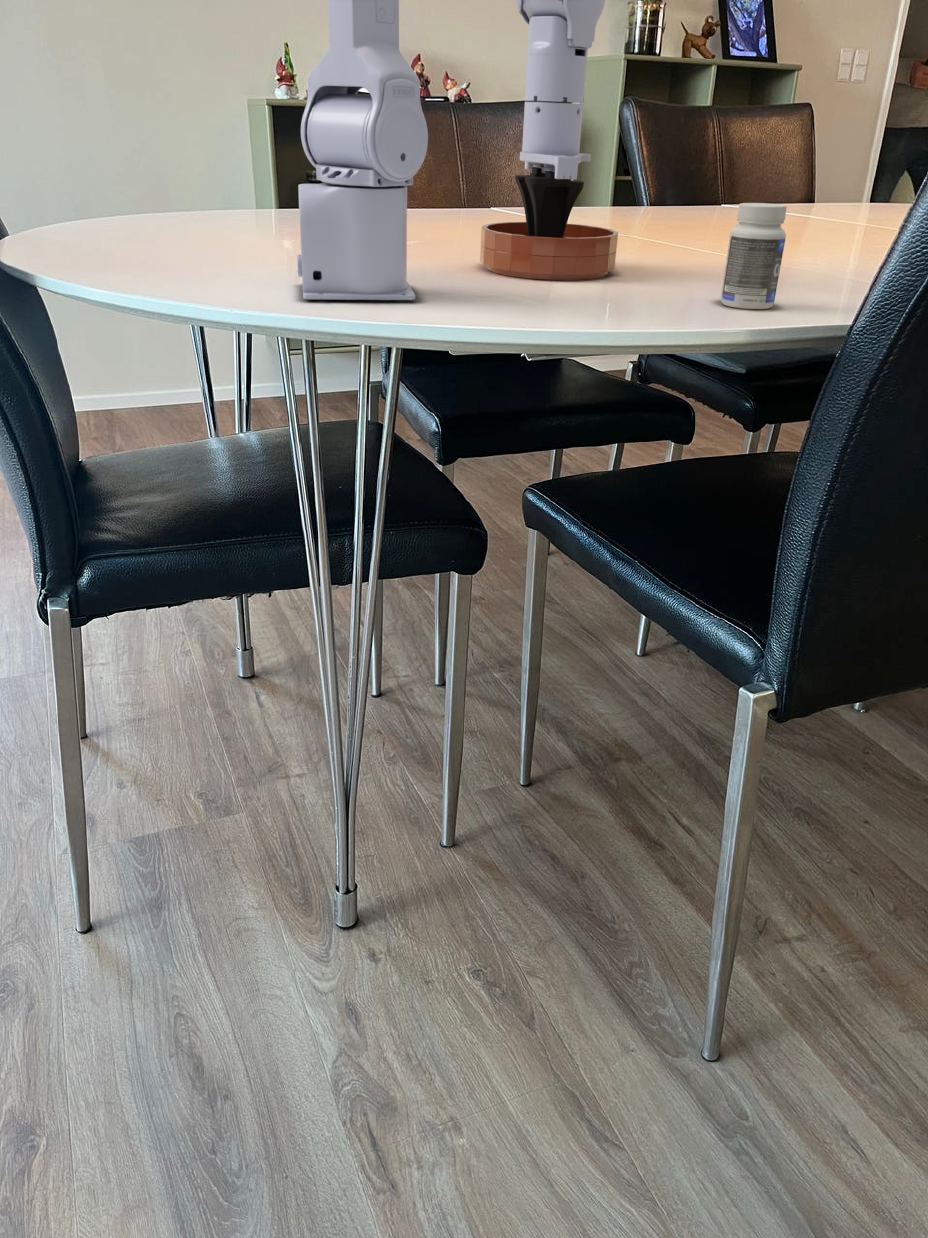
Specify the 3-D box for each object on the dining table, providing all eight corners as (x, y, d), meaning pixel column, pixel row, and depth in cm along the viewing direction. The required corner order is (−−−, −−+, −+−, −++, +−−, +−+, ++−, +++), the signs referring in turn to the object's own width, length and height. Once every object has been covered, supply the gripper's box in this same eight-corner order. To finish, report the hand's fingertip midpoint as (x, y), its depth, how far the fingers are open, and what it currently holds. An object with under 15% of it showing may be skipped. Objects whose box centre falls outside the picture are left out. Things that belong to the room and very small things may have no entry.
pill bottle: (779, 311, 84) (798, 207, 80) (726, 308, 84) (742, 205, 80) (765, 301, 89) (783, 202, 85) (714, 299, 89) (729, 200, 85)
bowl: (493, 280, 94) (495, 236, 92) (470, 259, 106) (472, 220, 104) (631, 281, 96) (635, 239, 94) (593, 261, 108) (596, 222, 106)
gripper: (615, 104, 88) (600, 261, 94) (574, 103, 100) (564, 242, 107) (539, 101, 87) (530, 260, 93) (508, 101, 99) (502, 240, 106)
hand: (543, 250), depth 100 cm, fingers closed on eraser, 3 cm apart
